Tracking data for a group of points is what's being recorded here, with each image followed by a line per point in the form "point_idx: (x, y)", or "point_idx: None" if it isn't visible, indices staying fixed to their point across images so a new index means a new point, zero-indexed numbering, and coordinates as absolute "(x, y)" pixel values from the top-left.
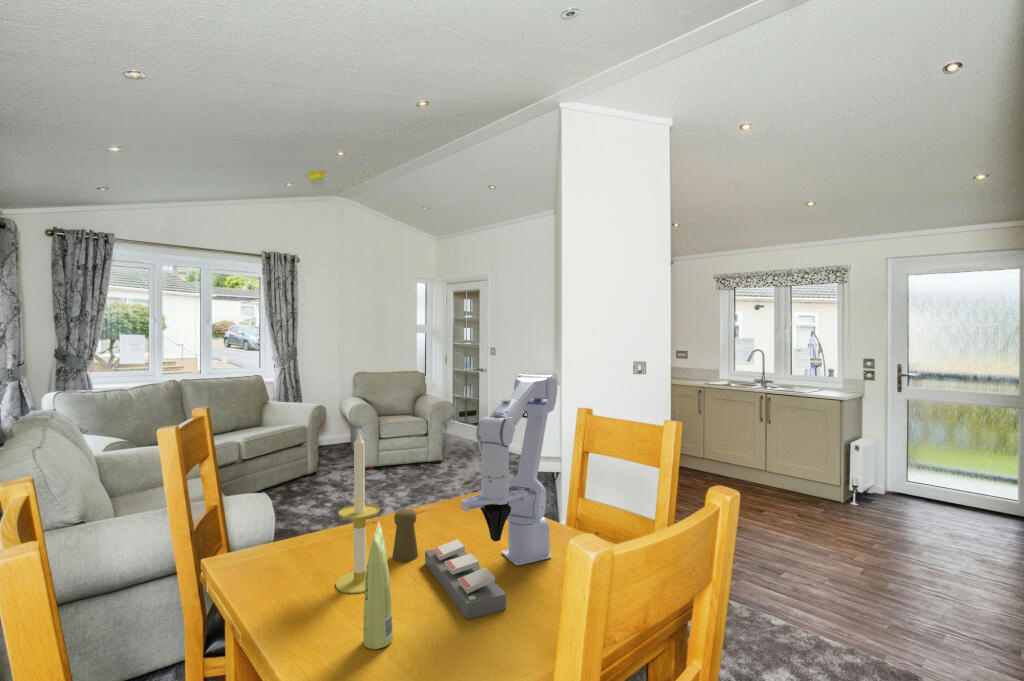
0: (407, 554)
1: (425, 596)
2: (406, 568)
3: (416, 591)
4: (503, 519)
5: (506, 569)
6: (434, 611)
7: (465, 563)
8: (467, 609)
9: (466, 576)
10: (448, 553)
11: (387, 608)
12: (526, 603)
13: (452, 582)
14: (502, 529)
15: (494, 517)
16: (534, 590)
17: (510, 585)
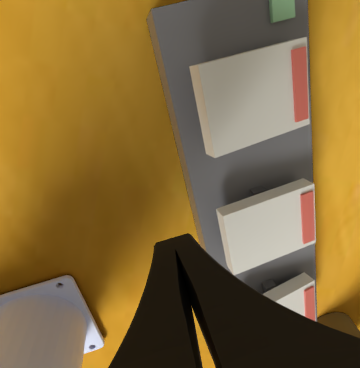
0: (339, 327)
1: (339, 154)
2: (339, 286)
3: (351, 182)
4: (151, 344)
5: (103, 260)
6: (342, 70)
7: (265, 214)
8: None
9: (284, 125)
10: (288, 291)
11: None
12: (68, 41)
13: (305, 144)
14: (148, 281)
15: (276, 338)
16: (27, 123)
17: (106, 170)
